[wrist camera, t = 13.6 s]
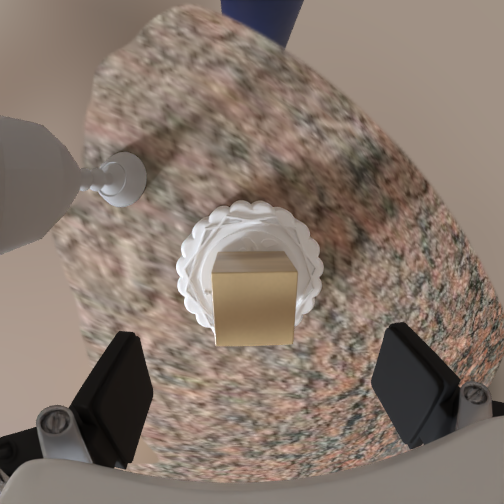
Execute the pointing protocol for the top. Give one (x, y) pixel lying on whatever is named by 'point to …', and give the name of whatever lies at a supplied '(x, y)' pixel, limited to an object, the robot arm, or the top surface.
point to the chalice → (52, 181)
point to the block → (253, 298)
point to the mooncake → (246, 239)
